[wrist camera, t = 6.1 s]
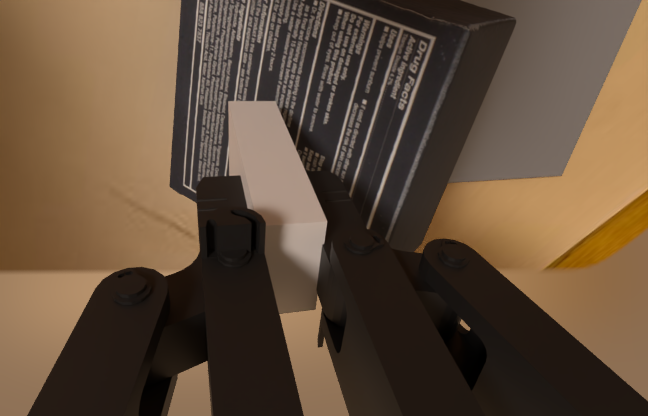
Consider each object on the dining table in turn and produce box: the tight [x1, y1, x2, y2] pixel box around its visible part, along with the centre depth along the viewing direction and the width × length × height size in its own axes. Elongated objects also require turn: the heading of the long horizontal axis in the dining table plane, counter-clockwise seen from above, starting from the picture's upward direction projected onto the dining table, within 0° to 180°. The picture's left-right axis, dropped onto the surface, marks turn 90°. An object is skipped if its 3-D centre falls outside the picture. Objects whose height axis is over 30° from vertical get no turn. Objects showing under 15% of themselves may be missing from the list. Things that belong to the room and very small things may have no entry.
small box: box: [170, 0, 517, 252], centre depth 19 cm, size 11×6×10 cm
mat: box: [448, 0, 641, 183], centre depth 26 cm, size 19×16×1 cm
